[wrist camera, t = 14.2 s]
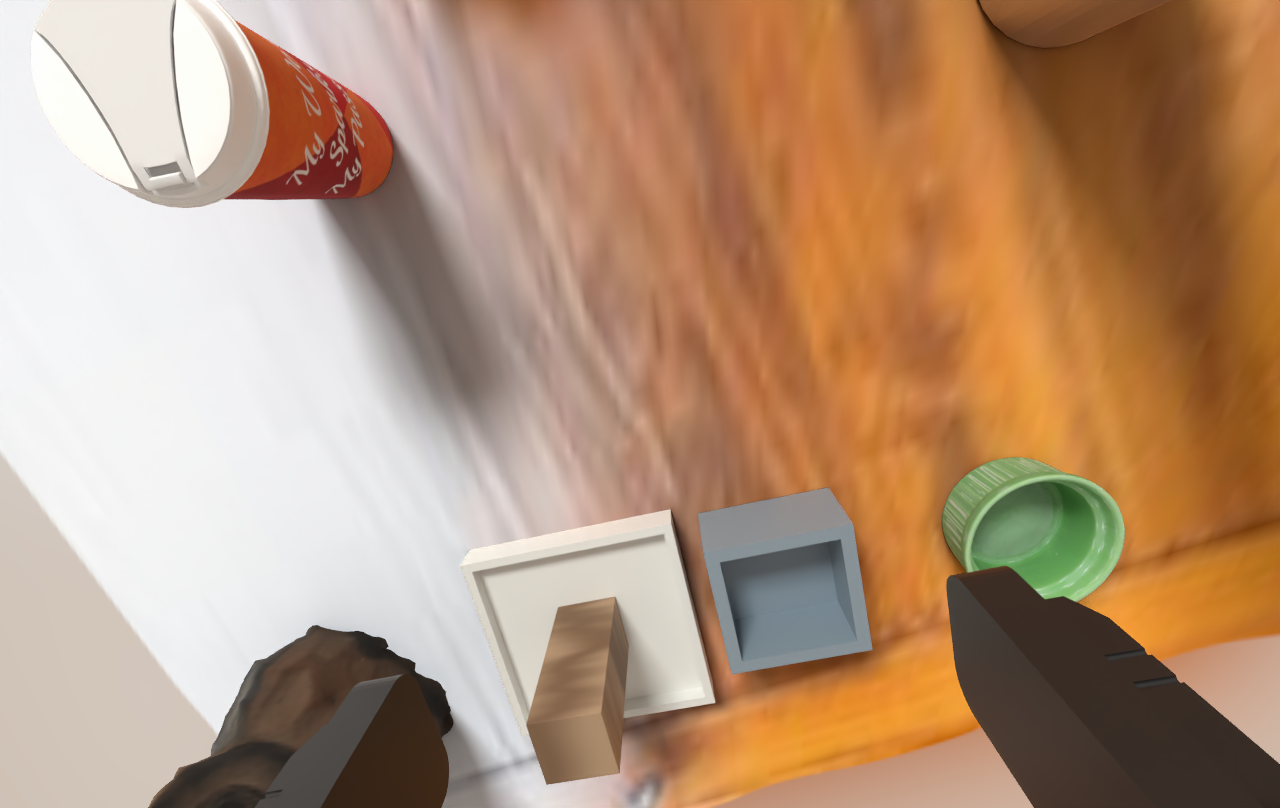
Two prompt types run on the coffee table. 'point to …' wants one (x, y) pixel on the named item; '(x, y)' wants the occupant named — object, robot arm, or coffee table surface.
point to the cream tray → (585, 571)
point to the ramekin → (1035, 526)
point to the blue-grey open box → (785, 580)
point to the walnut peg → (581, 693)
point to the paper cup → (199, 106)
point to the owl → (288, 715)
